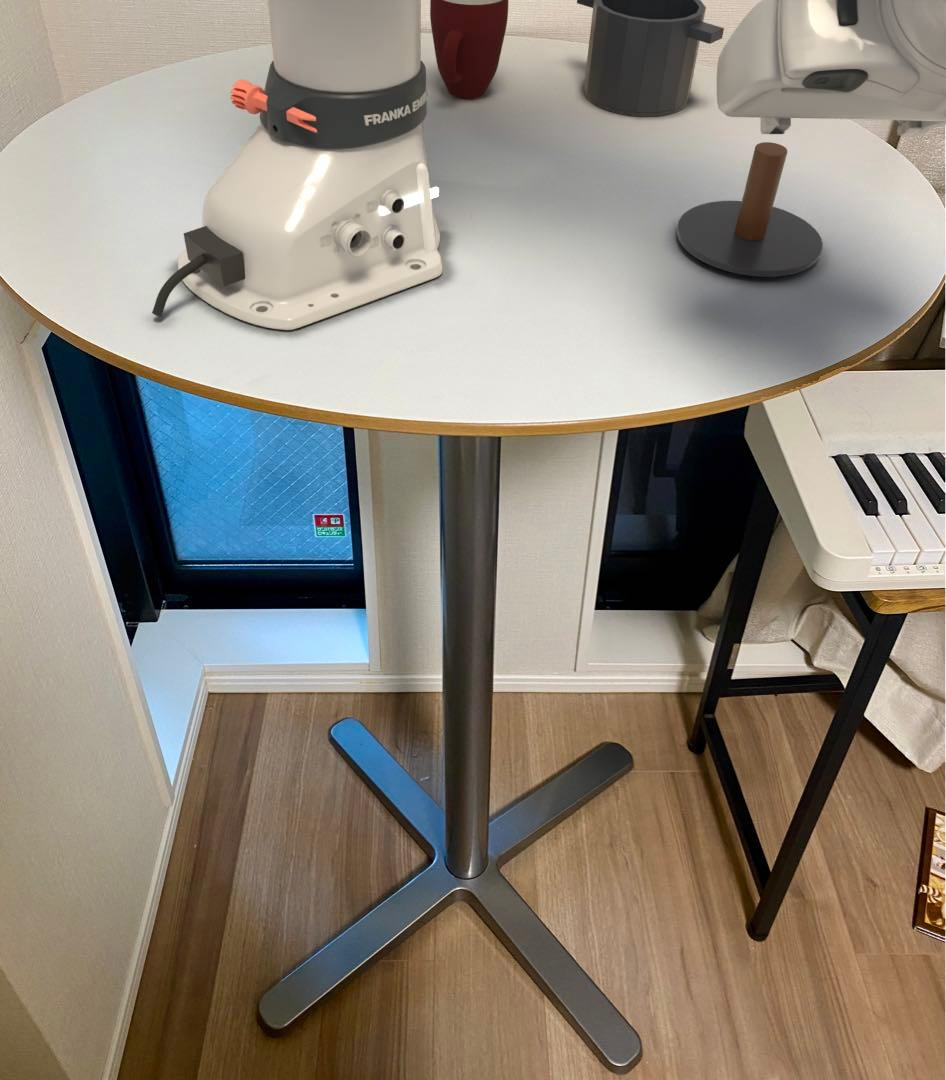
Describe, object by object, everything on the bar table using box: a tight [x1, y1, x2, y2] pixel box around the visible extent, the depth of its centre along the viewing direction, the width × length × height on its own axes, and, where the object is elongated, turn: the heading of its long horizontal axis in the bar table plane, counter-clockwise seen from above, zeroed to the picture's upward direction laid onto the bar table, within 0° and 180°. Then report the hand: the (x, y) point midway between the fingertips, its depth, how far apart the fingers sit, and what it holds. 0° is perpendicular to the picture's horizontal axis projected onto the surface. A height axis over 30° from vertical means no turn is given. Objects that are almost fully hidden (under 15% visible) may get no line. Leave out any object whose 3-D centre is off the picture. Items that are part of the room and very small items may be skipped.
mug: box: [429, 0, 509, 100], centre depth 104 cm, size 11×8×10 cm
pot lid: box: [676, 141, 823, 278], centre depth 83 cm, size 12×12×9 cm
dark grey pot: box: [576, 0, 725, 118], centre depth 106 cm, size 11×17×9 cm
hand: (839, 124), depth 67 cm, fingers open, 8 cm apart
